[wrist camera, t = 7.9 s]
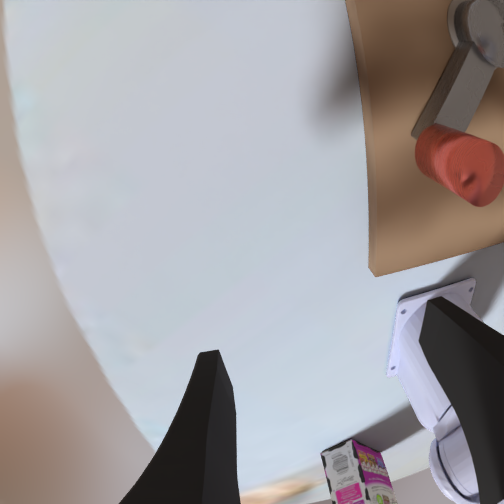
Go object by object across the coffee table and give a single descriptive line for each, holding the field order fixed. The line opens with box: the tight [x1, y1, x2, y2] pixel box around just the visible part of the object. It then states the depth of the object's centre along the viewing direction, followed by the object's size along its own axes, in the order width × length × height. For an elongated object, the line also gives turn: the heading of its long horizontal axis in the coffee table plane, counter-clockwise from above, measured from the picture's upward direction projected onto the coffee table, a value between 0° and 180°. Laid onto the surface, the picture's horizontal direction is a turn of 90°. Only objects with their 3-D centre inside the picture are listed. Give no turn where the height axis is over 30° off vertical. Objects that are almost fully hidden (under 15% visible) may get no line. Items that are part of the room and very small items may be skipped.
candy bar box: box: [321, 439, 398, 504], centre depth 30 cm, size 11×5×16 cm, turn 40°
